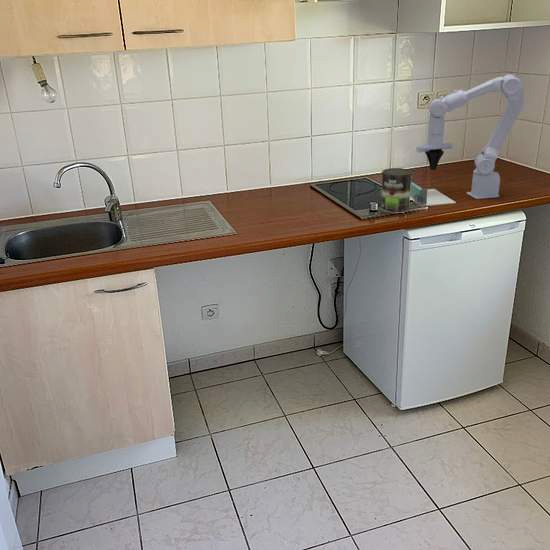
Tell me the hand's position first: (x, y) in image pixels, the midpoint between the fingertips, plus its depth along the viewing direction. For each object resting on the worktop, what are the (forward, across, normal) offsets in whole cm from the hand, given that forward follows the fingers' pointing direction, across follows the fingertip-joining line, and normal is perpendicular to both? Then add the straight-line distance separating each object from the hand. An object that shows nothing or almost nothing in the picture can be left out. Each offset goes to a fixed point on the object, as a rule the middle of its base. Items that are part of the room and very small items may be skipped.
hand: (432, 169), depth 222 cm
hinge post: (+10, +7, -4) cm, 13 cm away
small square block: (+10, +10, +8) cm, 16 cm away
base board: (+10, +4, +3) cm, 11 cm away
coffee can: (+10, +22, +10) cm, 26 cm away
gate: (+9, +9, +3) cm, 13 cm away
